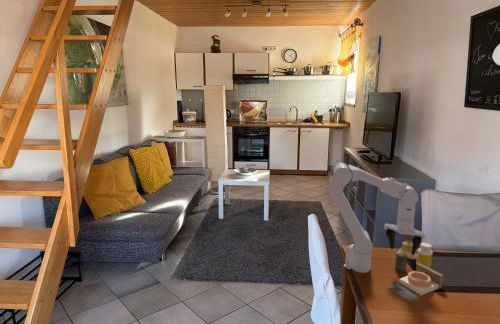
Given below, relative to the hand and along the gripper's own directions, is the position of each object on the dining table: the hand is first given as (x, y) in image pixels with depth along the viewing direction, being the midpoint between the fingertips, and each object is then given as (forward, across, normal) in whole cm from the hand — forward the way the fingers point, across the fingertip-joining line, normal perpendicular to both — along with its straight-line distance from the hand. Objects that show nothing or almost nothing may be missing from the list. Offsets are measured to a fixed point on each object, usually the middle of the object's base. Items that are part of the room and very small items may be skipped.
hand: (402, 251), depth 130 cm
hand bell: (+10, -2, +17) cm, 20 cm away
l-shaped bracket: (+9, +7, -8) cm, 14 cm away
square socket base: (+8, +8, -6) cm, 13 cm away
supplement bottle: (+10, +6, +11) cm, 15 cm away
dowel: (+10, 0, +1) cm, 10 cm away
